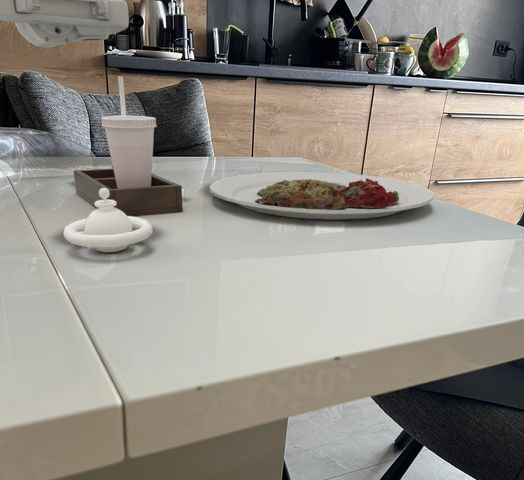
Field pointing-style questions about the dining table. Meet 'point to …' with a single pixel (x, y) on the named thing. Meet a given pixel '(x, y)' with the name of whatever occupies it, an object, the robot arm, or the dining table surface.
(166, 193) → the holder
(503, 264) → the dining table surface
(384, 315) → the dining table surface
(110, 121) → the smoothie
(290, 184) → the plated food
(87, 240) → the ring around a ball
